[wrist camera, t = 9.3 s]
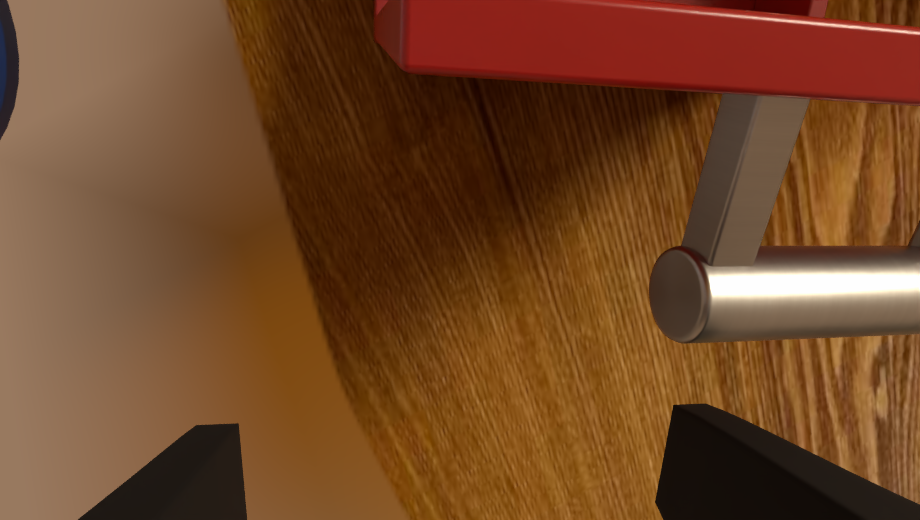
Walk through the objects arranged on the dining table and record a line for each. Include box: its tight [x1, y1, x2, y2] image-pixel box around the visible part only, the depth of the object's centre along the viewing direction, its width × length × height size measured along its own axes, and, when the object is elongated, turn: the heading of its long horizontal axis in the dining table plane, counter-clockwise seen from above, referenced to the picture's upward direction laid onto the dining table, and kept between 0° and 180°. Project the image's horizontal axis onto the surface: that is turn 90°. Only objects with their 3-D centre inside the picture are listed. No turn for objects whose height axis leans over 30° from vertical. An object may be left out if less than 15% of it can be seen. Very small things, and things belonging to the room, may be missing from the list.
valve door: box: [375, 0, 920, 343], centre depth 10 cm, size 10×13×4 cm
